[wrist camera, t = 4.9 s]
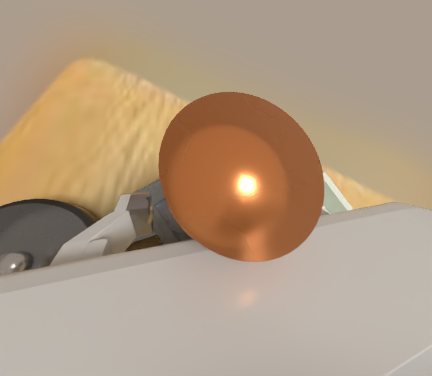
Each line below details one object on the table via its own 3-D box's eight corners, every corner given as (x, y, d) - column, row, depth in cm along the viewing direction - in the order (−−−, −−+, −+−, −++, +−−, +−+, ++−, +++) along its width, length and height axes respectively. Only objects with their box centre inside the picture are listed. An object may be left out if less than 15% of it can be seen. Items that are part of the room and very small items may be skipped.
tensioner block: (239, 229, 19) (254, 229, 16) (117, 331, 14) (96, 368, 10) (195, 165, 20) (199, 151, 16) (63, 241, 15) (24, 246, 11)
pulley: (135, 261, 16) (116, 276, 11) (30, 335, 13) (-61, 403, 8) (89, 189, 16) (51, 173, 12) (-22, 243, 13) (-137, 253, 8)
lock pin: (220, 218, 17) (350, 191, 4) (187, 242, 15) (238, 312, 3) (198, 186, 17) (260, 74, 4) (164, 208, 15) (116, 129, 3)
